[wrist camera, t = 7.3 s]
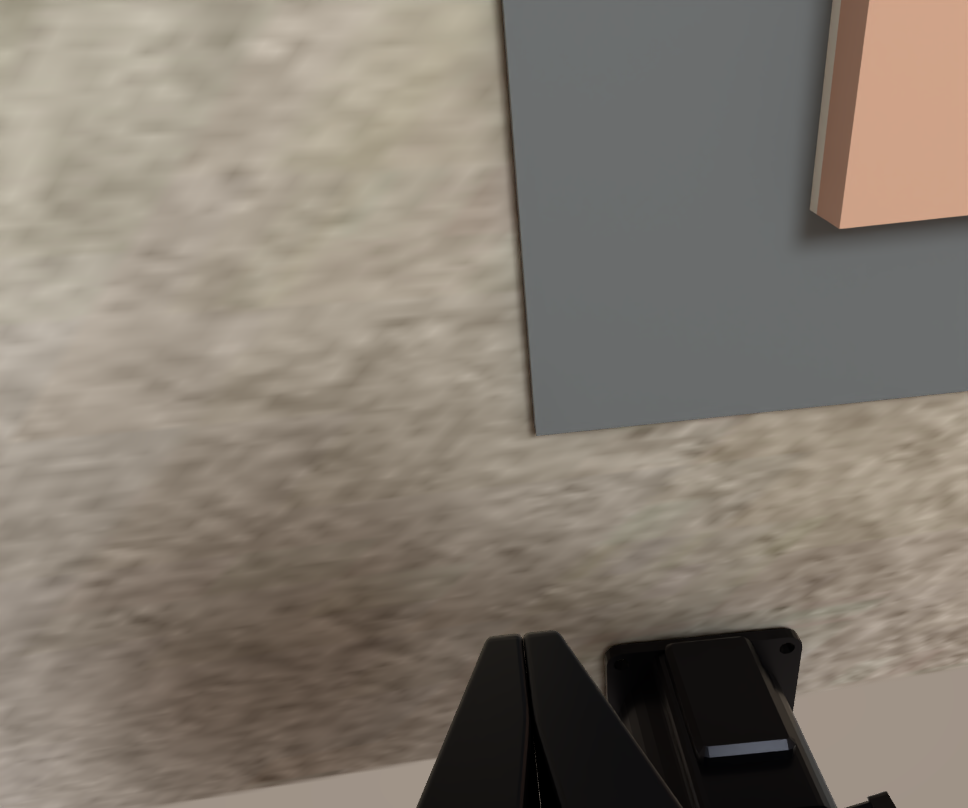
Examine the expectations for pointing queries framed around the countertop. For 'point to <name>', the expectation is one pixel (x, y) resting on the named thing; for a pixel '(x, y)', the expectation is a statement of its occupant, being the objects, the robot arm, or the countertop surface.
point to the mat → (705, 223)
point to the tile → (893, 113)
